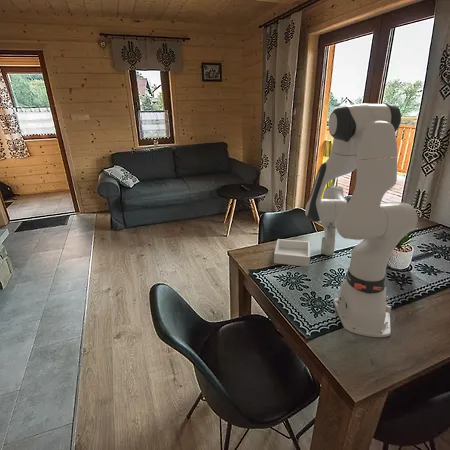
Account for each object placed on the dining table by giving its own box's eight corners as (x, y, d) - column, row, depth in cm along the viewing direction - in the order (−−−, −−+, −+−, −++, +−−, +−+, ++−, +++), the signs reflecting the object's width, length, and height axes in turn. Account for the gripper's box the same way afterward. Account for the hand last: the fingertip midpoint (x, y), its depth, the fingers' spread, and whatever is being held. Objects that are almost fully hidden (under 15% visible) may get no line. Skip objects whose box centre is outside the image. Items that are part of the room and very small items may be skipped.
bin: (309, 266, 130) (310, 257, 128) (273, 263, 134) (274, 253, 132) (309, 250, 144) (310, 241, 143) (277, 247, 149) (277, 238, 147)
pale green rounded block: (334, 255, 136) (335, 242, 134) (320, 254, 138) (322, 241, 135) (333, 250, 142) (334, 237, 139) (320, 249, 143) (321, 236, 141)
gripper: (339, 229, 123) (336, 257, 129) (336, 213, 142) (333, 238, 147) (324, 228, 125) (321, 256, 130) (322, 212, 143) (320, 237, 148)
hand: (327, 246), depth 139 cm, fingers closed on pale green rounded block, 6 cm apart
